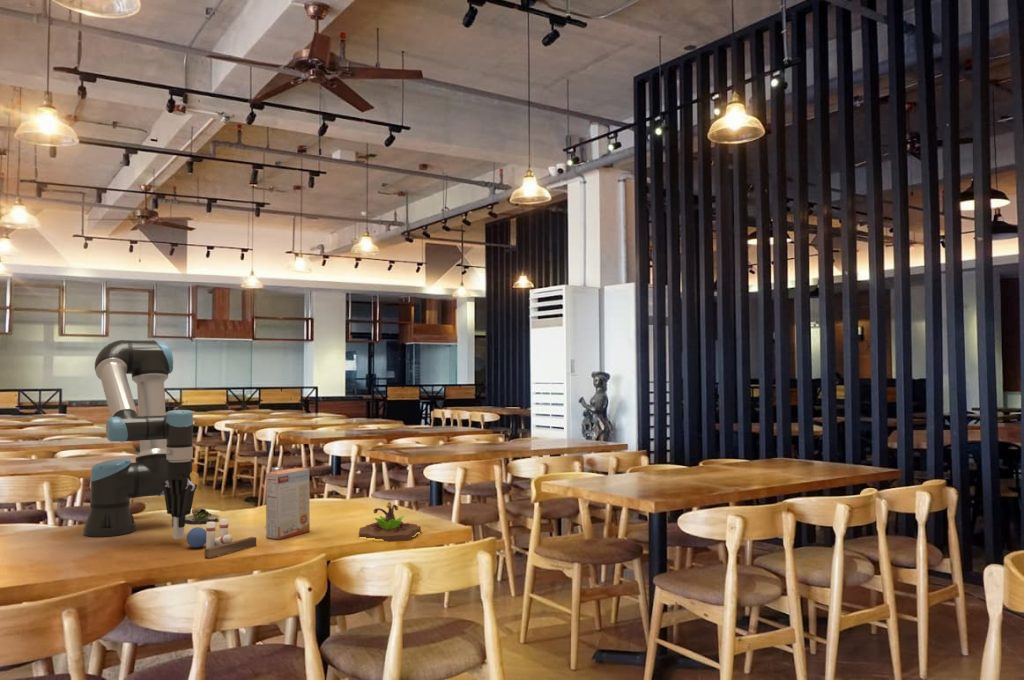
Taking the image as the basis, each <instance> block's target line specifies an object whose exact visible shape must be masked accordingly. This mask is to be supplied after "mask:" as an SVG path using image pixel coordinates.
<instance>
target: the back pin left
mask: <svg viewBox="0 0 1024 680" xmlns="http://www.w3.org/2000/svg"><path fill="white" fill-rule="evenodd" d="M228 534H229V518H220V519H219V537H222V536H224V535H228Z"/></svg>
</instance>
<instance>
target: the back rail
mask: <svg viewBox="0 0 1024 680" xmlns="http://www.w3.org/2000/svg"><path fill="white" fill-rule="evenodd" d="M249 547H250V548H253V547H257V537H256V536H255V537H254V536H250V537H247V538H242V539H238V540H235V541H232V542H230V543H226V544H222V545H219V546H215V547H211V548H207V549H206V548H204V558H205V557H207V558H206V559H209V558H211V557H214V558H216V557H215V556H218V555H221V556H223V555H222V554H225V555H227V554H226V553H229V552H232V553H235V552H234V551H236V552H238V550H239V551H243V550H246V549H249ZM245 548H246V549H245ZM242 549H243V550H242ZM229 554H230V553H229ZM218 557H219V556H218ZM211 559H212V558H211Z"/></svg>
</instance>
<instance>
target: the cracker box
mask: <svg viewBox="0 0 1024 680" xmlns="http://www.w3.org/2000/svg"><path fill="white" fill-rule="evenodd" d="M265 503H266V504H265V510H266V512H265V513H266V514H265V516H266V517H265V519H266V521H265V522H266V524H265V525H266V527H265V528H266V530H265V532H266V534H265V535H266V537H265V538H266V539H271V540H283V539H285V538H290V537H294V536H297V535H301V534H305V533H309V532H311V531H310V529H311V528H310V525H311V524H310V522H311V518H310V513H311V512H310V511H311V510H310V468H305V467H295V468H288V469H283V470H281V471H275V472H271V471H270V472H266V473H265Z"/></svg>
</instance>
